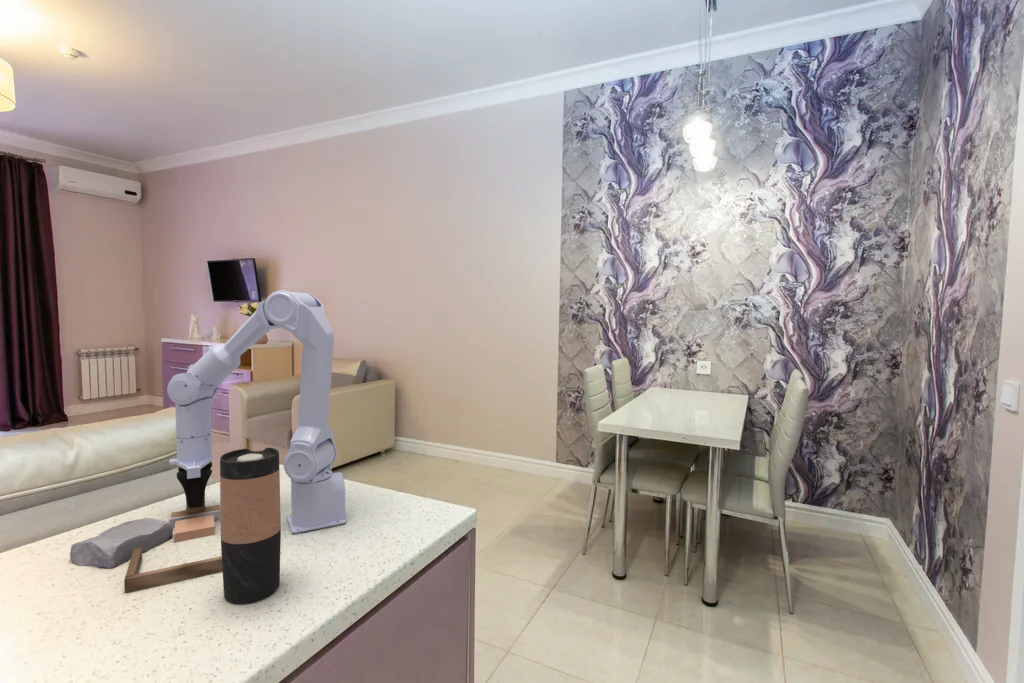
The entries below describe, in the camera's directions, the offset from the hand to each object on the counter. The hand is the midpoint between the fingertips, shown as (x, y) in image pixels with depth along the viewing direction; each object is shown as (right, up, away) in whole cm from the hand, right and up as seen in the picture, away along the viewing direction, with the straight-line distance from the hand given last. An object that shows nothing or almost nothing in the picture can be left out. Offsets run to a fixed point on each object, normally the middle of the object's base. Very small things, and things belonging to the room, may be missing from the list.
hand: (195, 504), depth 96 cm
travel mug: (+24, -5, -24) cm, 34 cm away
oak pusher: (+1, -3, -1) cm, 3 cm away
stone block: (-4, -4, -13) cm, 14 cm away
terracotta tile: (+4, -4, -6) cm, 8 cm away
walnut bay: (+10, -4, -16) cm, 20 cm away
